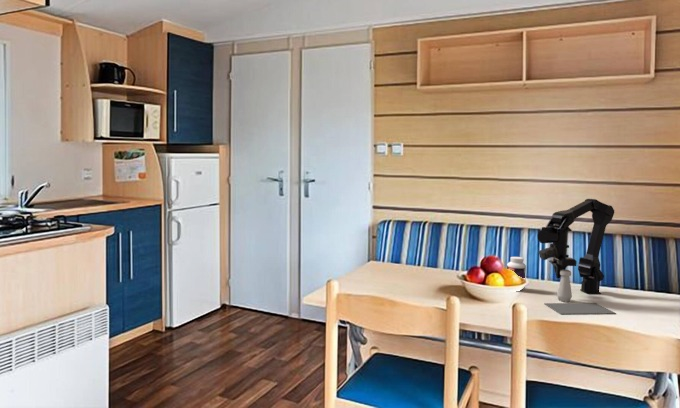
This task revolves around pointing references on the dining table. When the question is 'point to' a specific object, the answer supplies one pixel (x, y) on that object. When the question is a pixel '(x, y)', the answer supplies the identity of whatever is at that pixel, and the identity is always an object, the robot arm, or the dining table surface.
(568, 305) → the mat
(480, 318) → the dining table surface
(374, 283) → the dining table surface
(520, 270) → the pill bottle
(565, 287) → the salt shaker
